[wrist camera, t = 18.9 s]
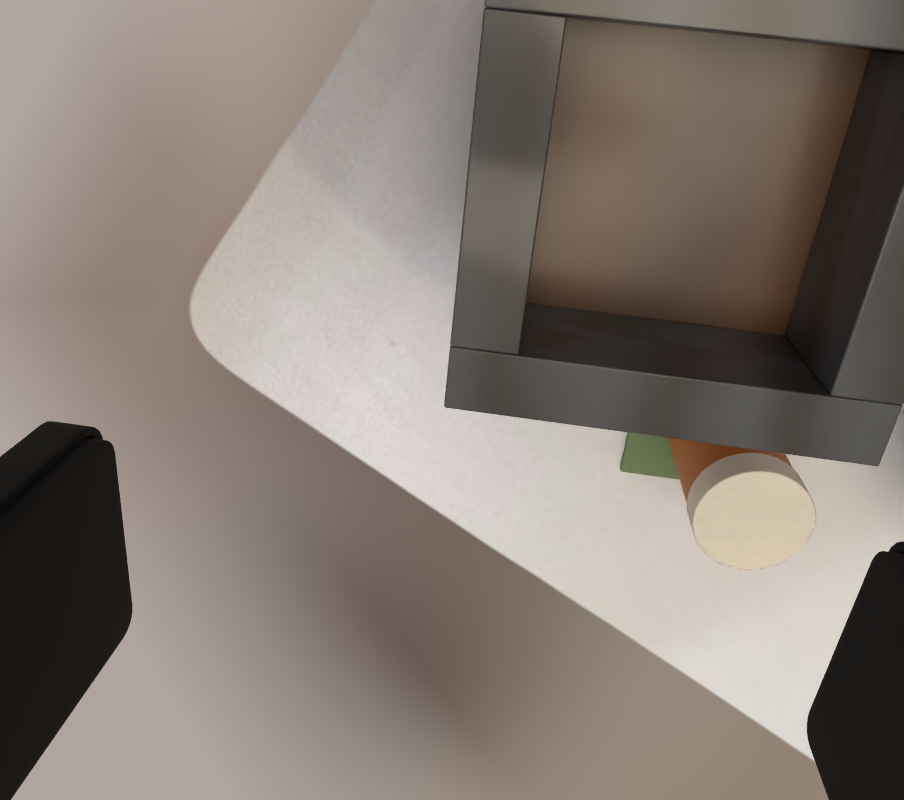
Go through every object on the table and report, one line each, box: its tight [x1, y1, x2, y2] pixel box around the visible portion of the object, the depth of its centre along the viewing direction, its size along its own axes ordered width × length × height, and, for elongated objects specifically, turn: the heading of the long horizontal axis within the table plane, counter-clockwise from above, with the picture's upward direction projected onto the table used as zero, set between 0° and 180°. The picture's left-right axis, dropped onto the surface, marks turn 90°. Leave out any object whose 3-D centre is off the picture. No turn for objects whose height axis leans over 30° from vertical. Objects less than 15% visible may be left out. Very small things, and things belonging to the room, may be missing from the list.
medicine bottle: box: [668, 438, 816, 570], centre depth 46 cm, size 6×6×12 cm
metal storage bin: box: [444, 0, 904, 466], centre depth 35 cm, size 16×16×22 cm
